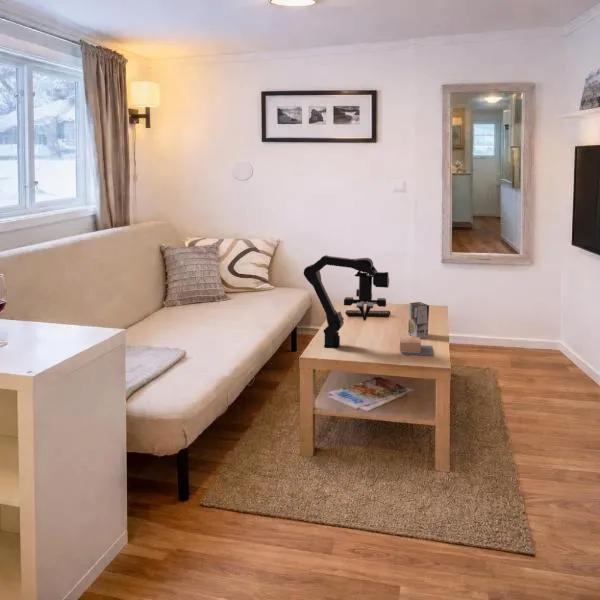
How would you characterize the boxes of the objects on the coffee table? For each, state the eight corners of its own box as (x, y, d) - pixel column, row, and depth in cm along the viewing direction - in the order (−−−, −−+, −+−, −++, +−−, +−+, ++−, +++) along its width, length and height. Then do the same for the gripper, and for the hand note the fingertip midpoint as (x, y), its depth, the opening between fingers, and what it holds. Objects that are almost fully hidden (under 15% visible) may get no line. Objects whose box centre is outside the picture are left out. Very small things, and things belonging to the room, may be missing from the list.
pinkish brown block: (400, 342, 287) (420, 343, 286) (400, 336, 297) (420, 337, 296) (399, 352, 288) (420, 352, 287) (399, 346, 298) (419, 346, 297)
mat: (403, 355, 285) (403, 354, 285) (402, 345, 301) (402, 344, 301) (433, 356, 283) (433, 355, 283) (431, 346, 299) (431, 345, 299)
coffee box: (428, 338, 314) (429, 305, 311) (416, 339, 312) (417, 306, 309) (419, 333, 322) (420, 301, 319) (407, 334, 320) (408, 302, 317)
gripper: (386, 283, 296) (385, 317, 299) (345, 282, 299) (345, 315, 302) (386, 288, 285) (385, 322, 289) (344, 287, 288) (343, 321, 291)
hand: (364, 320), depth 293 cm, fingers closed
